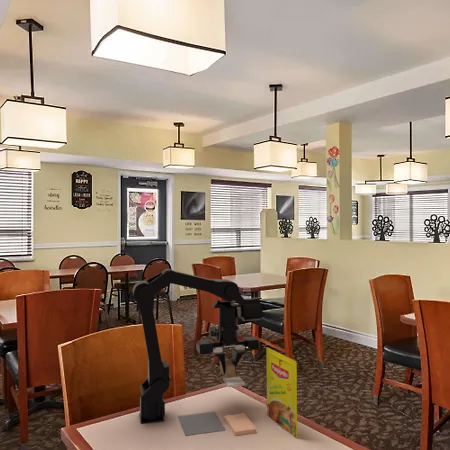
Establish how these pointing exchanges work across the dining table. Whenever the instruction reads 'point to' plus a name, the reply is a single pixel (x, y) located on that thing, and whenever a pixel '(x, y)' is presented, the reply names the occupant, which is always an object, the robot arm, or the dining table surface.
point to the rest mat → (201, 423)
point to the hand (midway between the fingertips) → (228, 373)
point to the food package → (282, 390)
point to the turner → (231, 375)
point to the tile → (240, 424)
